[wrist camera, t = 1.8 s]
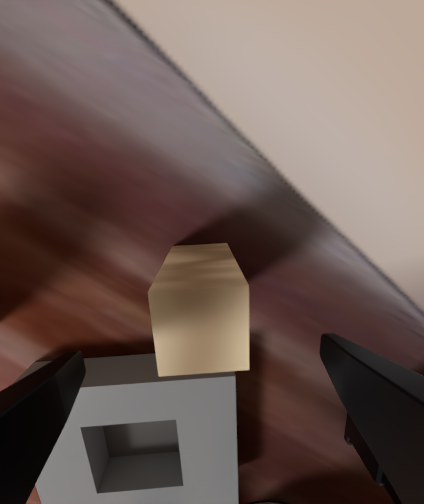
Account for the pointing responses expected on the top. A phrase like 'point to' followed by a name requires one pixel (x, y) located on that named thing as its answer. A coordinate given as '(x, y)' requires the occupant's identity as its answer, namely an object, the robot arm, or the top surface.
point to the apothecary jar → (268, 503)
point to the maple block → (200, 312)
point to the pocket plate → (144, 437)
